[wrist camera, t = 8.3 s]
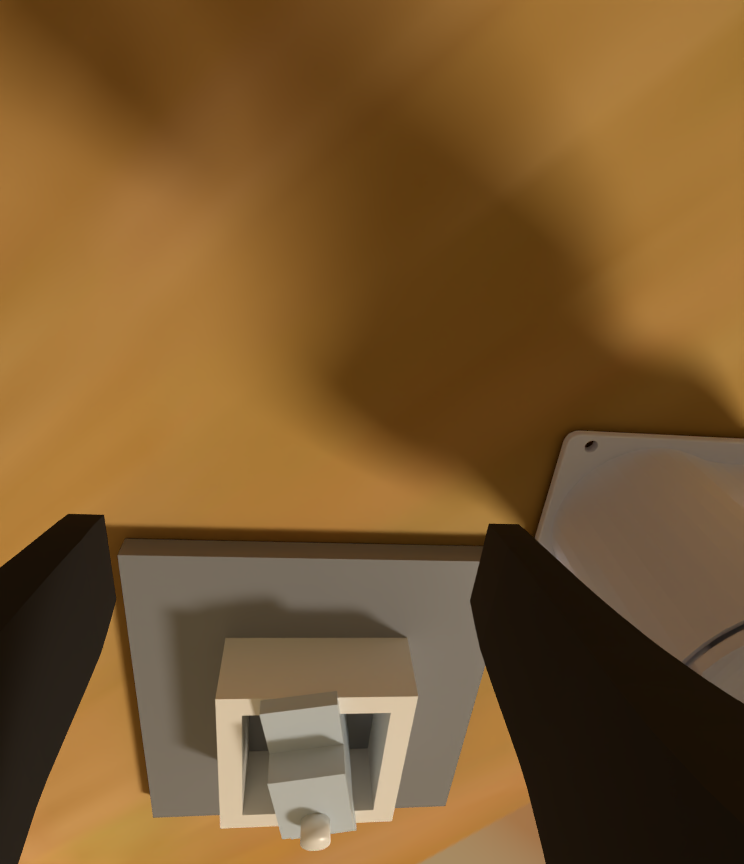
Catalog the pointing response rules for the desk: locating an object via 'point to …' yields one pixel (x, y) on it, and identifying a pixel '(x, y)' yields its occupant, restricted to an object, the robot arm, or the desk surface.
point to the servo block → (309, 767)
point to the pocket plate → (299, 665)
